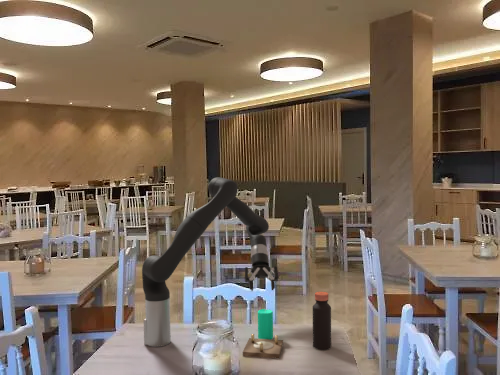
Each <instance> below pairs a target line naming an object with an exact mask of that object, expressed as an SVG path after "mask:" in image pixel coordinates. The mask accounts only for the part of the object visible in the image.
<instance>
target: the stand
mask: <svg viewBox="0 0 500 375" xmlns="http://www.w3.org/2000/svg"><path fill="white" fill-rule="evenodd" d="M261 342H262V343H263V352H260V343H261ZM283 345H284V339H278V344H275V339H274V338H273V339H258V338H255V337H254V343H251V337H249V338H248V340H247V342H246V344H245V346H244V348H243V351H242V357H254V358H266V359H267V358H269V359H280V356H281V353H282V350H283Z"/></svg>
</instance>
